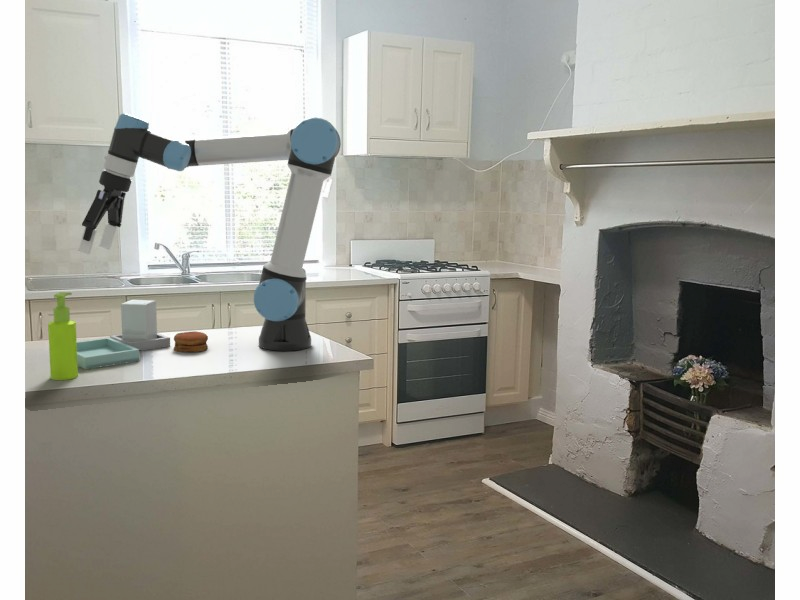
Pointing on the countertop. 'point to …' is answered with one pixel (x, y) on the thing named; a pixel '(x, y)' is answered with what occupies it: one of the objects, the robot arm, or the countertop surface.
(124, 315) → the supplement box
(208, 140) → the robot arm
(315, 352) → the countertop surface
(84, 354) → the tray
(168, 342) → the holder
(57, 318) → the soap dispenser
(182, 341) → the burger
